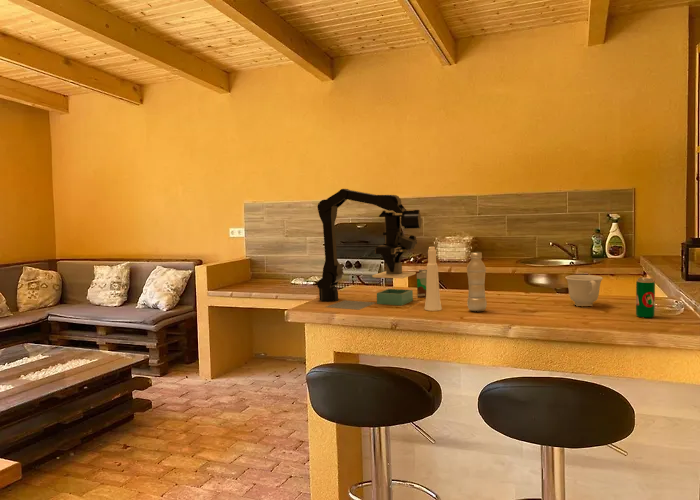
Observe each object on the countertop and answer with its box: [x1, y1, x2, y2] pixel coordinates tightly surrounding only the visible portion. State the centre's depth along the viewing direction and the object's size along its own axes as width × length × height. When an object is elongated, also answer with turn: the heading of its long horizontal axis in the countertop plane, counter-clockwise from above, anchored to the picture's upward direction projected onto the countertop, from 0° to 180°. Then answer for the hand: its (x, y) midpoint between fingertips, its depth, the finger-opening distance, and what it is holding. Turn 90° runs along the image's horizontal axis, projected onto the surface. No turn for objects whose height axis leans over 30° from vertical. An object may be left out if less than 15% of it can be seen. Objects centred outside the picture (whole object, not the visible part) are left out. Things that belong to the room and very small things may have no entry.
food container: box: [416, 269, 427, 299], centre depth 213 cm, size 12×6×10 cm, turn 168°
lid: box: [371, 261, 417, 279], centre depth 196 cm, size 12×12×5 cm
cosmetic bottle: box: [424, 246, 443, 312], centre depth 185 cm, size 6×6×22 cm
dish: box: [376, 288, 414, 306], centre depth 197 cm, size 10×10×5 cm
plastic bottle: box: [466, 251, 488, 312], centre depth 180 cm, size 6×7×20 cm
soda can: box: [635, 277, 656, 319], centre depth 163 cm, size 5×5×12 cm
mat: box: [326, 300, 377, 311], centre depth 194 cm, size 14×14×1 cm
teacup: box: [564, 274, 604, 307], centre depth 182 cm, size 12×15×10 cm
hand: (394, 271), depth 196 cm, fingers closed on lid, 3 cm apart
